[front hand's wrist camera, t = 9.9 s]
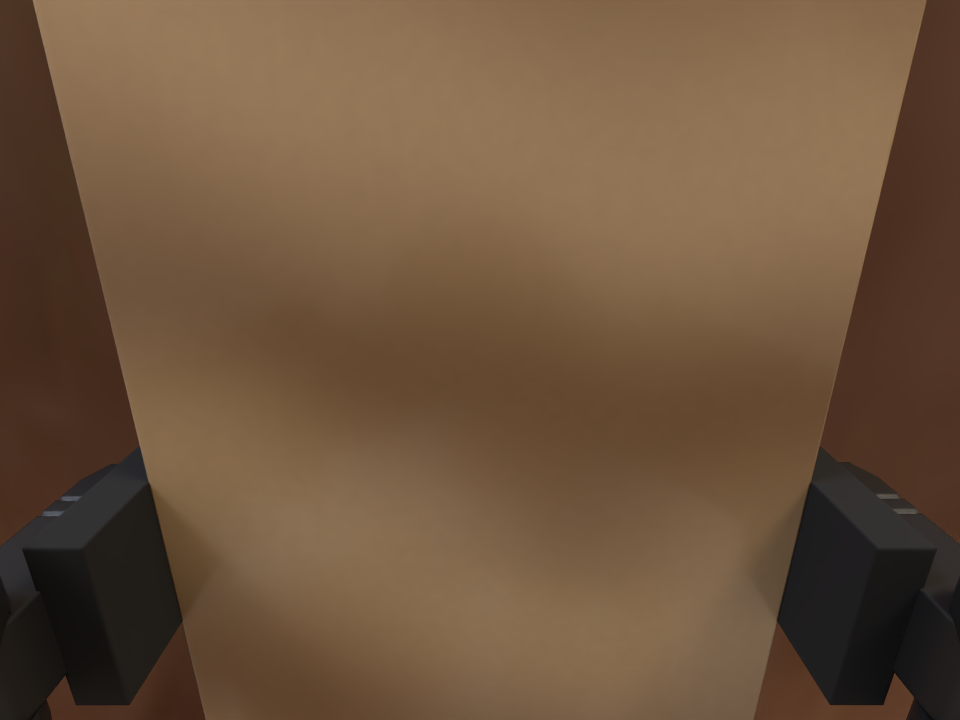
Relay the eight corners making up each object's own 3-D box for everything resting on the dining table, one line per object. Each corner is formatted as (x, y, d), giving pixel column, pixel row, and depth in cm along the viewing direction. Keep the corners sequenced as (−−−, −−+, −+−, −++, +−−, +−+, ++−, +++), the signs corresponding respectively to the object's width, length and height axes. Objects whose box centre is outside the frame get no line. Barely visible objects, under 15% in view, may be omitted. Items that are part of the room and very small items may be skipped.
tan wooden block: (270, -105, 13) (-105, -563, 5) (689, -106, 13) (1065, -564, 5) (333, 483, 19) (213, 755, 10) (626, 483, 19) (746, 755, 10)
